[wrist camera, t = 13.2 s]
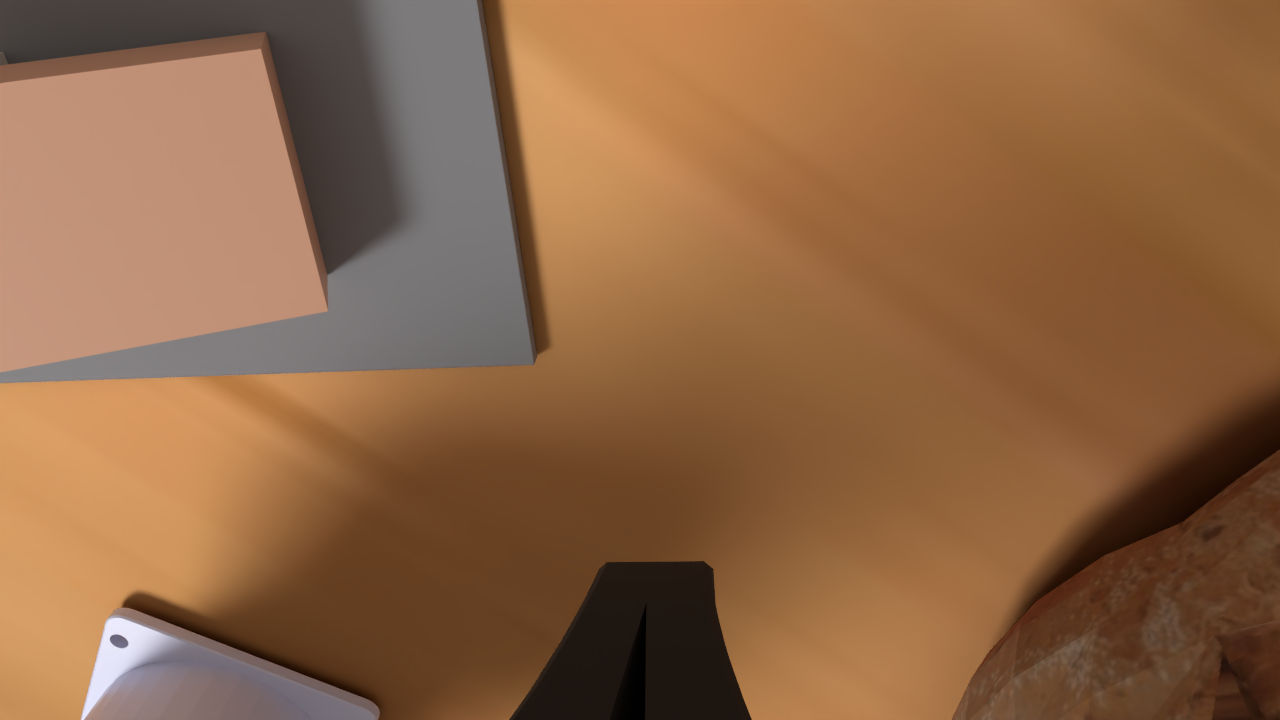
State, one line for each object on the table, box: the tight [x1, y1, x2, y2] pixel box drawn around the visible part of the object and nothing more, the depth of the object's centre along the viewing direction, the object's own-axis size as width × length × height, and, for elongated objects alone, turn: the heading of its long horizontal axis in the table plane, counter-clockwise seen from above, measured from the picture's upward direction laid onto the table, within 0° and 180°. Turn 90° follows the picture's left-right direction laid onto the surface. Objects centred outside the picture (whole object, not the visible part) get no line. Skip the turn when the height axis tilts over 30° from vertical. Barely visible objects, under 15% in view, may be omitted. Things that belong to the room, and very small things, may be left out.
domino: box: [0, 32, 328, 372], centre depth 19 cm, size 2×5×9 cm
